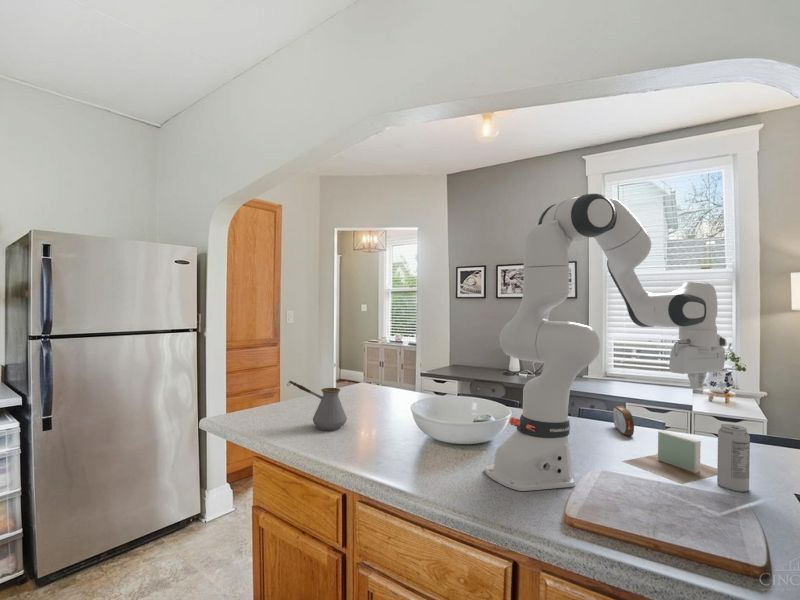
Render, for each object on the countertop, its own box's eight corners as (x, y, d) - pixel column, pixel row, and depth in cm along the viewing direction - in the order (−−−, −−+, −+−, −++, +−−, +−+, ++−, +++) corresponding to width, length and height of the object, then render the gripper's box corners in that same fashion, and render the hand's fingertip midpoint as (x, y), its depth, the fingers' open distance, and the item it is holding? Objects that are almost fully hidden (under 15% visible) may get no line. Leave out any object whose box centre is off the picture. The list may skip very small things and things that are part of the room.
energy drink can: (734, 484, 103) (735, 423, 104) (756, 495, 97) (756, 430, 98) (710, 484, 103) (711, 423, 103) (731, 495, 97) (731, 430, 97)
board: (682, 486, 101) (682, 483, 101) (621, 463, 116) (621, 461, 116) (728, 474, 110) (728, 472, 110) (666, 454, 124) (666, 452, 124)
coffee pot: (350, 424, 146) (351, 381, 146) (341, 433, 135) (342, 387, 135) (292, 419, 149) (294, 377, 150) (278, 428, 138) (280, 383, 138)
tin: (634, 438, 139) (635, 413, 140) (624, 438, 140) (625, 412, 140) (620, 426, 154) (620, 403, 154) (611, 425, 155) (611, 403, 155)
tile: (694, 472, 108) (695, 442, 109) (656, 459, 117) (657, 431, 118) (700, 471, 109) (700, 441, 110) (662, 458, 118) (662, 430, 119)
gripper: (687, 340, 110) (686, 392, 110) (730, 340, 119) (729, 388, 119) (663, 338, 116) (662, 388, 116) (705, 338, 125) (705, 384, 125)
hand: (696, 388), depth 117 cm, fingers closed
